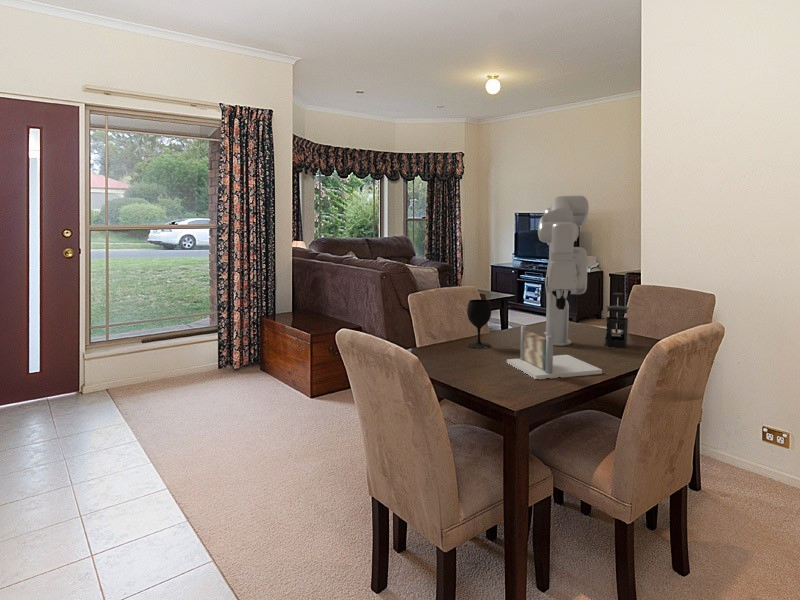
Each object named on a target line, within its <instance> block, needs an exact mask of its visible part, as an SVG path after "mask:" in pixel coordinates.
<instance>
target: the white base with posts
mask: <svg viewBox="0 0 800 600" xmlns="http://www.w3.org/2000/svg"><path fill="white" fill-rule="evenodd" d="M524 331H528V325H521V326H520V356H519V357H520V358H510V359H509V358H508V359H506V364H507V363H508V365H509V364H510V365H509V366H511V365H512V366H513V368H514V367H515V368H514V369H516V368H517V369H516V370H518V369H519V370H521V371H523V372H524V373H523V372H522V373H523V374H525V373H526V374H528V375H529V376H528V375H527V376H528V377H530V376H531V377H530V378H532V377H533V378H534V380H535V379H539V380H547V379H546V378H550V379H559V378H558V377H561V378H569V377H581V376H591V375H602V374H603V369H601V368H600V367H598V366H595V365H592V364H590V363H589V362H585V361H583V360H582V359H579V358H575V357H574V356H572V355H569V354H559V355H554V345H553V336H546V335H545V338H546V366H545V370H543V369H541V368H540V367H538V366H536V365H534V364H532V363H530V362H528V361H526V360H524ZM512 366H511V367H512ZM519 370H518V371H519ZM521 371H520V372H521ZM526 374H525V375H526ZM533 378H532V379H533Z"/></svg>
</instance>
